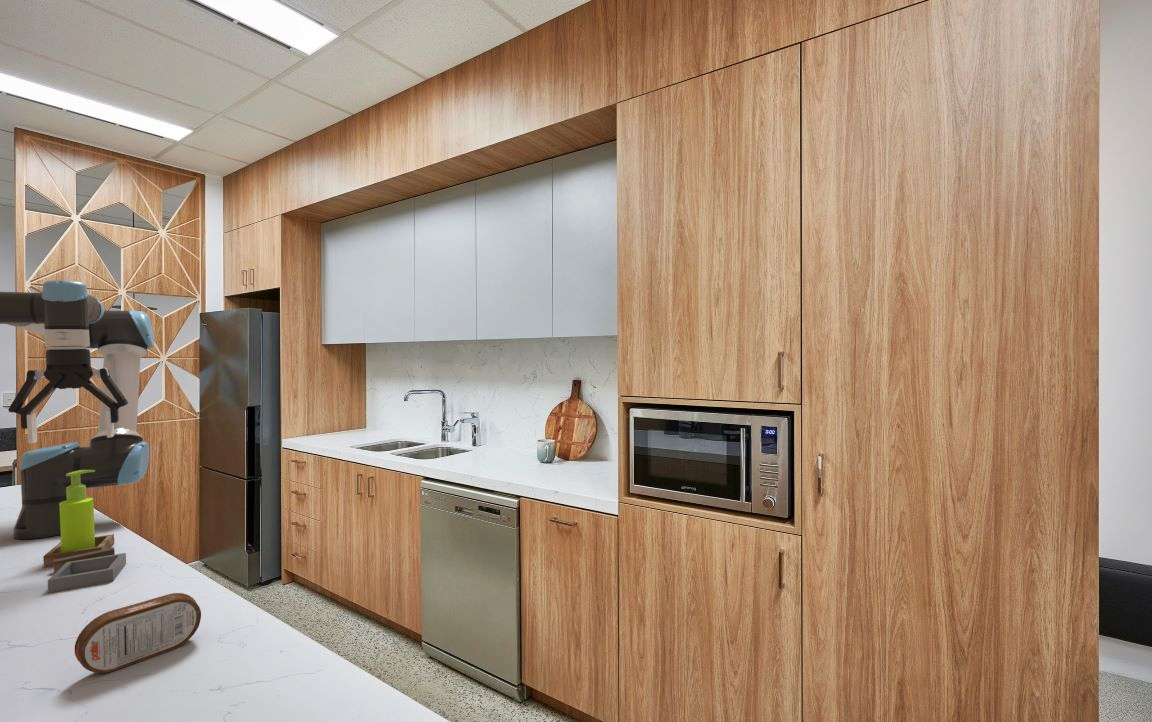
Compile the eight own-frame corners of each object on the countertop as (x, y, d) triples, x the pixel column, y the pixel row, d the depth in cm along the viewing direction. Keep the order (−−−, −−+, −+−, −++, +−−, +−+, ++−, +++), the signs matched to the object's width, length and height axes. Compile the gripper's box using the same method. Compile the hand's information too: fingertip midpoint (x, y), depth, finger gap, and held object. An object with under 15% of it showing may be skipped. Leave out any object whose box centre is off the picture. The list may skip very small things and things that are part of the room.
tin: (198, 634, 89) (196, 583, 89) (204, 640, 87) (202, 588, 87) (75, 678, 77) (72, 620, 77) (79, 686, 75) (76, 627, 75)
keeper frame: (67, 573, 117) (66, 562, 117) (126, 563, 121) (125, 552, 121) (48, 592, 107) (47, 580, 107) (113, 581, 112) (112, 569, 112)
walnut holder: (61, 552, 130) (60, 541, 130) (114, 544, 135) (113, 534, 135) (43, 567, 121) (43, 556, 121) (101, 558, 126) (101, 547, 125)
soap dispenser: (106, 549, 131) (103, 468, 131) (77, 560, 124) (73, 474, 124) (84, 549, 132) (81, 468, 131) (54, 560, 125) (50, 474, 124)
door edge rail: (53, 571, 118) (53, 560, 118) (113, 557, 125) (113, 547, 125) (54, 573, 117) (54, 562, 117) (114, 560, 124) (114, 549, 124)
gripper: (-16, 349, 115) (-11, 448, 116) (133, 347, 127) (137, 436, 128) (0, 349, 121) (5, 442, 122) (140, 347, 134) (144, 432, 134)
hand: (72, 439), depth 125 cm, fingers open, 13 cm apart
